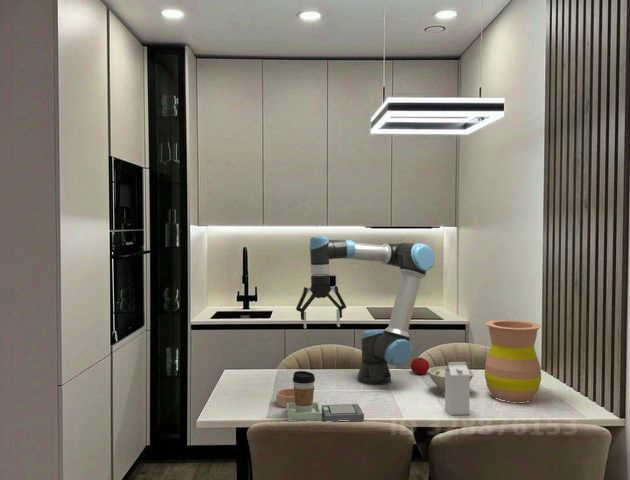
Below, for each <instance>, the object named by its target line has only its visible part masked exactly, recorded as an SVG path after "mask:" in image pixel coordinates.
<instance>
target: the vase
mask: <svg viewBox="0 0 630 480" xmlns="http://www.w3.org/2000/svg"><path fill="white" fill-rule="evenodd" d="M485 325H486V326H487V327H488V330H489V331H488V332H489V337H490V341H491V346H490V349H489V352H488V355H487V357H486V360H485V364H484V378H485V382H486V386H487V389H488V390H489V392H490V394H491V395H492V397H493V396H494V397H495V398H494V397H493V398H494V399H496V398H498V399H501V400H505V401H510V402H527V401H530V402H531V400H532V401H533V400H534V398H535V397H536V395H537V394H538V392H539V390H540V389H539V388H540V385H541V381H542V370H541V364H540V362H539V358H538V355H537V352H536V349H535V344H536V340H537V335H538V330H539V329H540V328H541V327H542V325H540V324H539V323H536V322H530V321H525V320H513V319H512V320H509V319H502V320H501V319H500V320H499V319H498V320H489V321H486V322H485ZM498 399H497V400H498ZM510 402H509V403H510ZM527 403H528V402H527Z"/></svg>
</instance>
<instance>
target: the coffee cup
mask: <svg viewBox="0 0 630 480" xmlns="http://www.w3.org/2000/svg"><path fill="white" fill-rule="evenodd" d="M315 381H316V378H315V373H314V372H313V373H312V372H309V371H306V370H305V371H303V370H299V371H298V370H297V371H295V372H294V371H293V376H292V382H293V389H294V396H295V405H296V413H310V412H312V405H313V402H314V394H315Z"/></svg>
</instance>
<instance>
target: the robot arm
mask: <svg viewBox="0 0 630 480" xmlns="http://www.w3.org/2000/svg"><path fill="white" fill-rule="evenodd" d="M309 240H310V241H309V253H310V255H309V256H310V274H311V276H310V284H311V285H310V287H306V286H304V287H303V290H302V295H301V297H300V298H299V300H298V303H297V306H296V308H295V310H296V311H297V312H299V313H300V320H301V321H303V329H307V312H306V310H307V308H308V307H309V306H310V305H311V304H312V302H313V301H314V299H316V298H317V299H321V298H323V299H326V298H328V299H329V300H330V301H331V302H332V303H333V305H334V306H335V307H336V308H337V309H336V310H335V311H336V326H337V327H338V328H340V327H341V323H340V321H341V320H340V319H342V317H343V310H344V309H346V308H347V305H346V303H345V301H344V299H343V298H342V296H341V294H340V292H339V287H338V286H337V285H334V286H331V280H330V275H329V274H330V260H335V259H336V260H337V259H338V260H341V259H342V260H344V259H346V260H356V261H357V260H358V261H367V262H368V261H369V262H380V263H381V264H382V265H388V266H393V267H396V268H399V272H400V274H401V275H400V278H399V279H400V280H399V283H398V288H397V292H396V296H395V298H394V299H395V300H394V303H393V308H392V311H391V316H390V319H389V323H388V326H387V327H386V328H385V329H367V330H364V331H363V332H362V333H361V339H360V340H361V365H360V368H359V370H358V374H357V381H358V382H360V383H362V384H367V385H373V386H374V385H386V384H389V383H391V382H392V375H391V371H390V367H389V365H392V366H399V367H400V366H402V365H405V364H406V363H407V362H408V361H409V360H410V358H411V357H412V353H413V347H412V344H411V343H410V339H411V337H410V335H409V329H410V323H411V320H412V315H413V312H414V309H415V303H416V299H417V296H418V292H419V288H420V285H421V280H422V279H423V278H425V277H426V275H427V274H426V273H427V271H429V270H431V268H433V266H434V264H435V254H434V252H433V250H432V248H431V247H430V246H428V244H426V243H419V242H417V243H416V242H415V243H414V242H413V243H411V242H410V243H409V242H399V243H398V242H397V243H382V244H373V243H372V244H371V243H364V242H363V243H361V242H355V241H353V240H352V239H341V240H340V239H329V237H328V236H326V235H323V236H322V235H321V236H311V238H310V239H309ZM331 291H332V292H334V294H335V295H336V297H337V300H338V301H339V303H340V304H339V303H338V302H337V301H336V300H335V298H334V297H333V296H332V295H331V294H330V292H331ZM310 292H311V295H310V297H309V298H308V299H307V300H306V302H305V299H306V296H307V294H309V293H310ZM303 303H304V304H303Z"/></svg>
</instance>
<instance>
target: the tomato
mask: <svg viewBox="0 0 630 480" xmlns="http://www.w3.org/2000/svg"><path fill="white" fill-rule="evenodd" d="M429 368H430V363H429V362H428V360H427V359H425V358H423V357H416V358H414V359H412V361H411V363H410V369H411V370H412V372H413V373H414V374H417V375H424V374H426V373H428V369H429Z"/></svg>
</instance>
